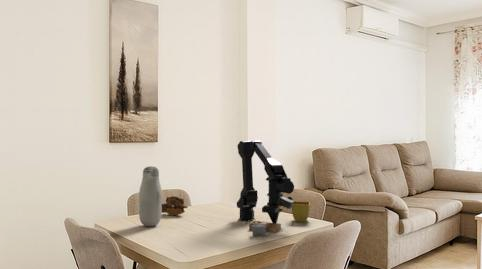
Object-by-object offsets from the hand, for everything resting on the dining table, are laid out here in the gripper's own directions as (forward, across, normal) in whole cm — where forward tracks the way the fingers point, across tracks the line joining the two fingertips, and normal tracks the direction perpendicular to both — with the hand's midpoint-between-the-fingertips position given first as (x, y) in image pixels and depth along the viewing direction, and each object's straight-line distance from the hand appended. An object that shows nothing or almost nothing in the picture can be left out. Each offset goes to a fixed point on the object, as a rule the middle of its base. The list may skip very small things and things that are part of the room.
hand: (274, 225), depth 187 cm
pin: (+2, -4, +7) cm, 8 cm away
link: (+1, -4, +3) cm, 6 cm away
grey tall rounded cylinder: (+2, -18, +55) cm, 58 cm away
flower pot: (+2, +20, -7) cm, 22 cm away
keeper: (+2, -14, +3) cm, 15 cm away
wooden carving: (+2, +8, +59) cm, 60 cm away
